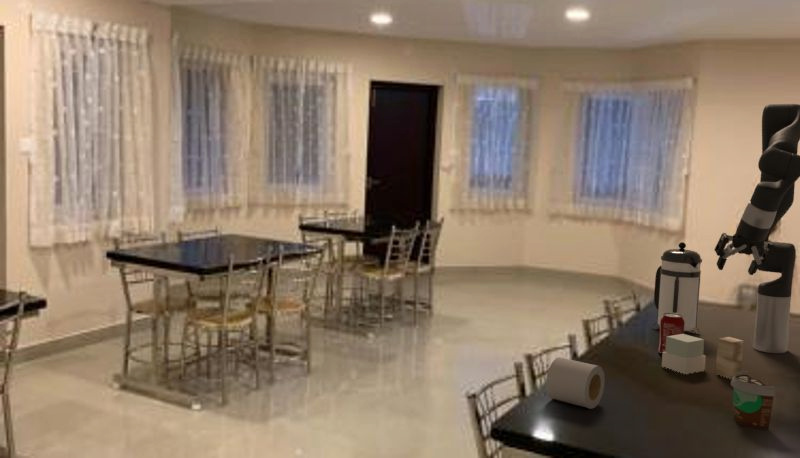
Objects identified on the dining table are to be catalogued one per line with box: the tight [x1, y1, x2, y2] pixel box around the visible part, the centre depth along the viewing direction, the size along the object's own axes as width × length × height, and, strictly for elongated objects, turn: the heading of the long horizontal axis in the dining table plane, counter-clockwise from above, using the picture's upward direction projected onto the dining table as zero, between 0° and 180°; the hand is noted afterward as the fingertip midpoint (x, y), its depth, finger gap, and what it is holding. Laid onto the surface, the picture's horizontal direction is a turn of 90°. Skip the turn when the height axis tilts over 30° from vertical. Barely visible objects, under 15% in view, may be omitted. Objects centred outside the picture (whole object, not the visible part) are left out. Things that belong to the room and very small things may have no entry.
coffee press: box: [652, 241, 703, 335], centre depth 261 cm, size 17×16×30 cm
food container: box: [730, 370, 776, 430], centre depth 177 cm, size 12×6×10 cm, turn 5°
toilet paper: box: [545, 356, 606, 410], centre depth 186 cm, size 10×10×10 cm
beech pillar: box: [715, 336, 744, 380], centre depth 213 cm, size 4×4×10 cm
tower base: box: [661, 352, 707, 375], centre depth 218 cm, size 8×8×4 cm
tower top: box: [665, 333, 705, 359], centre depth 218 cm, size 7×7×4 cm
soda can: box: [657, 313, 685, 355], centre depth 233 cm, size 7×7×12 cm
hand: (734, 270), depth 217 cm, fingers open, 8 cm apart
